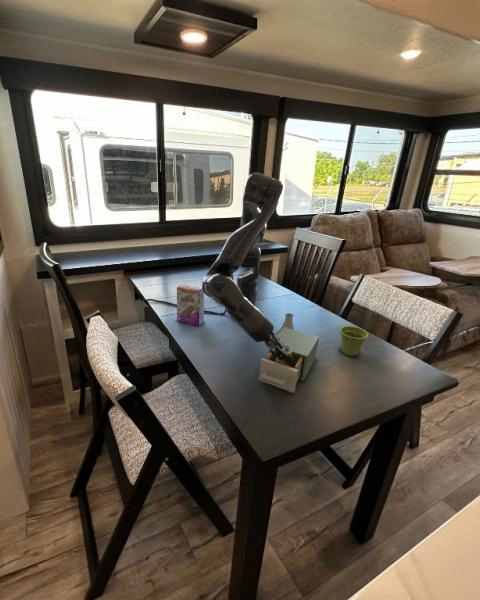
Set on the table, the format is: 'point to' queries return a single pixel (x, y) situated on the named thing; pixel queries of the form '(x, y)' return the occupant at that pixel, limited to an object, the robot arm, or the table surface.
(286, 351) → the pepper mill
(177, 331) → the table surface
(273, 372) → the drawer
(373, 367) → the table surface
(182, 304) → the candy bar box
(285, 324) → the flask
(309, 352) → the cabinet
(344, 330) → the plant pot
